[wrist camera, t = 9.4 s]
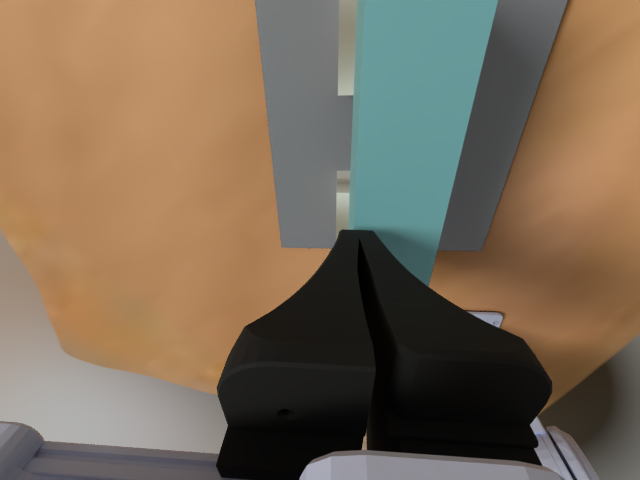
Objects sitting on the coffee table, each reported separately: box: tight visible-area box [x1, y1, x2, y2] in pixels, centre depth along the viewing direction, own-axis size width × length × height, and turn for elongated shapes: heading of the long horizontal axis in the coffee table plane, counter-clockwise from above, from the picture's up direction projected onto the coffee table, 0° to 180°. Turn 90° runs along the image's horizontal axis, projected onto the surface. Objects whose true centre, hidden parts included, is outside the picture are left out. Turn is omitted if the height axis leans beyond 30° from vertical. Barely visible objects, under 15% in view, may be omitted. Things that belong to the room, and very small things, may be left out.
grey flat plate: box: [255, 0, 568, 251], centre depth 18 cm, size 18×16×1 cm
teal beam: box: [348, 0, 498, 286], centre depth 13 cm, size 16×4×5 cm, turn 1°
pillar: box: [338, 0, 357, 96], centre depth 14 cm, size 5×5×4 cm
